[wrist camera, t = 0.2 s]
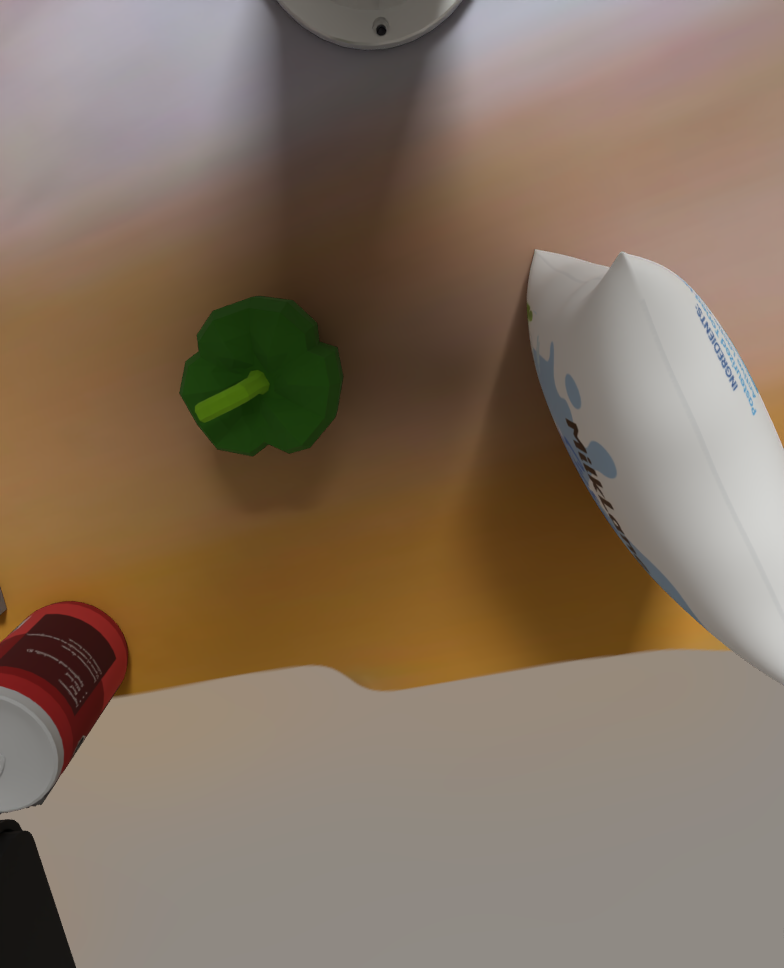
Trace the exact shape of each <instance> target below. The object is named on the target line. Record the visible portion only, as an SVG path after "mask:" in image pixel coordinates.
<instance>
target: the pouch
mask: <svg viewBox="0 0 784 968" xmlns="http://www.w3.org/2000/svg"><path fill="white" fill-rule="evenodd" d="M534 251H535V252H534V256H533V260H532V264H531V269H530V273H529V280H528V288H527V318H528V328H529V336H530V343H531V349H532V354H533V359H534V363H535V367H536V371H537V375H538V378H539V381H540V385H541V388H542V391H543V394H544V396H545V399H546V402H547V404H548V407H549V410H550V412H551V415H552V417H553V420H554V422H555V424H556V427H557V429H558V431H559V433H560V436H561V438H562V440H563V442H564V444H565V447H566V449H567V451H568V453H569V455H570V457H571V459H572V461H573V463H574V465H575V467H576V469H577V471H578V473H579V474H580V476H581V478H582V480H583V482H584V484H585V485H586V487H587V489H588V491H589V492H590V494H591V496H592V497H593V499H594V501H595V502H596V504H597V505H598V507H599V508H600V510H601V512H602V513H603V515H604V516H605V518H606V519H607V521H608V522H609V523H610V525H611V526H612V528H613V529H614V531H615V532H616V533H617V535H618V536H619V537H620V539H621V540H622V542H623V543H624V544H625V545H626V547H627V548H628V549H629V551H630V552H631V553H632V554H633V556H634V557H635V558H636V559H637V561H638V562H639V563H640V564H641V565H642V567H643V568H644V569H645V570H646V571H647V572H648V573H649V575H650V576H651V577H652V578H653V579H654V580H655V581H656V582H657V583H658V584H659V585H660V586H661V587H662V588H663V589H664V590H665V591H666V592H667V593H668V594H669V595H670V596H671V597H672V598H673V599H674V600H675V601H676V602H677V603H678V604H679V605H680V606H681V607H682V608H683V609H684V610H685V611H686V612H688V613H689V614H690V615H691V616H692V617H693V618H694V619H695V620H696V621H697V622H699V623H700V624H701V625H702V626H703V627H704V628H705V629H707V630H708V631H709V632H710V633H711V634H712V635H713V636H715V637H716V638H717V639H718V640H719V641H721V642H722V643H723V644H724V645H726V646H727V647H728V648H729V649H731V650H732V651H733V652H734V653H736V654H737V655H738V656H740V657H741V658H742V659H744V660H745V661H747V662H748V663H749V664H751V665H752V666H754V667H755V668H757V669H758V670H759V671H761V672H763V673H764V674H766V675H767V676H769V677H771V678H772V679H774V680H775V681H777V682H779V683H780V684H782V685H784V449H783V446H782V444H781V441H780V439H779V437H778V434H777V432H776V430H775V427H774V425H773V423H772V421H771V418H770V416H769V414H768V412H767V409H766V407H765V405H764V403H763V401H762V398H761V396H760V394H759V392H758V390H757V388H756V386H755V384H754V382H753V380H752V378H751V376H750V374H749V372H748V370H747V368H746V366H745V364H744V363H743V361H742V359H741V357H740V355H739V354H738V352H737V350H736V349H735V347H734V345H733V344H732V342H731V340H730V339H729V337H728V336H727V334H726V333H725V331H724V329H723V328H722V327H721V325H720V324H719V322H718V321H717V319H716V318H715V316H714V315H713V314H712V312H711V311H710V310H709V308H708V307H707V306H706V304H705V303H704V302H703V301H702V299H701V298H700V297H699V296H698V295H697V293H696V292H695V291H694V290H693V289H692V288H691V287H690V286H689V285H688V284H687V283H686V282H685V281H684V280H683V279H681V278H680V277H679V276H678V275H676V274H675V273H674V272H672V271H671V270H669V269H667V268H666V267H664V266H662V265H660V264H658V263H655V262H653V261H650V260H648V259H645V258H642V257H638V256H635V255H631V254H627V253H625V252H620V254H619V255H618V256H617V258H616V259H615V261H614V262H613V264H612V265H611V267H607V266H603V265H598V264H594V263H590V262H587V261H584V260H581V259H577V258H574V257H570V256H566V255H562V254H557V253H552V252H547V251H542V250H538V249H535V250H534Z"/></svg>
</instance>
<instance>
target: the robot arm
mask: <svg viewBox="0 0 784 968" xmlns="http://www.w3.org/2000/svg"><path fill="white" fill-rule="evenodd" d="M277 1H278V2H279V4H280V5H281V6H282V8H283V9H284V10H285V11H286V12H287V13H288V14H289V15H290V16H291V17H292V18H293V19H295V20H296V21H297V22H298V23H299V24H300V25H301V26H302V27H304V28H305V29H307V30H309V31H310V32H312V33H313V34H315V35H317V36H318V37H320V38H321V39H324V40H326V41H329V42H332V43H335V44H337V45H340V46H343V47H348V48H355V49H362V50H374V49H388V48H392V47H395V46H399V45H402V44H406V43H409V42H412V41H414V40H415V39H417V38H419V37H421V36H423V35H425V34H426V33H428V32H430V31H432V30H433V29H434V28H436V27H437V26H438V25H439V24H440V23H442V22H443V21H444V20H445V19H446V18H448V17H449V16H450V15H451V14H452V13H453V11H454V10H455V9H456V8H457V7H458V5H459V4H460V3H461V2H462V1H463V0H277ZM379 27H384V28H385V29H386V33H385V35H383V36H379V35H378V34H377V29H378V28H379ZM0 968H76V966H75V963H74V960H73V957H72V954H71V951H70V948H69V945H68V942H67V939H66V935H65V933H64V930H63V926H62V923H61V921H60V917H59V914H58V911H57V908H56V905H55V902H54V899H53V896H52V893H51V890H50V887H49V884H48V881H47V878H46V875H45V872H44V869H43V865H42V862H41V859H40V856H39V854H38V850H37V847H36V844H35V841H34V838H33V836H32V834H31V833H30V832H28V831H22V829H21V827H20V825H19V824H18V823H17V822H16V821H15V820H9V819H7V820H0Z"/></svg>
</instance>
